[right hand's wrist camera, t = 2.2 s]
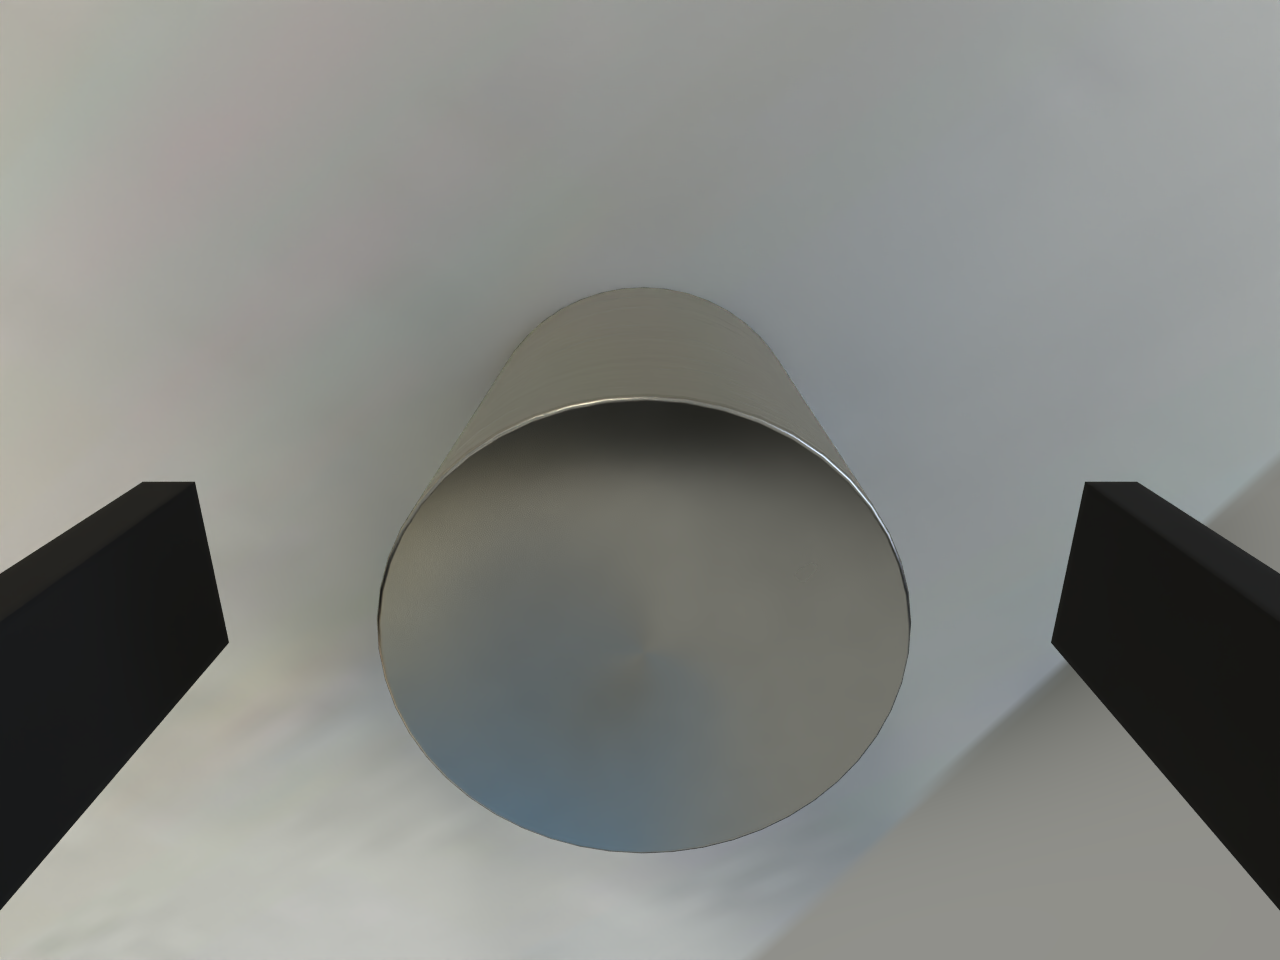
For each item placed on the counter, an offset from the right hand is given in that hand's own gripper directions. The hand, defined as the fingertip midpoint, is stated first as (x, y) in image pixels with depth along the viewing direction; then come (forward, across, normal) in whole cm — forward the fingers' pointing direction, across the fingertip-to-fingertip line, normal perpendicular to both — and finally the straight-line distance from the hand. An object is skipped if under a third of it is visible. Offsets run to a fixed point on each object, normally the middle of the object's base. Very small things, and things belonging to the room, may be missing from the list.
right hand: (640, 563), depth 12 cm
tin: (+5, 0, 0) cm, 5 cm away
